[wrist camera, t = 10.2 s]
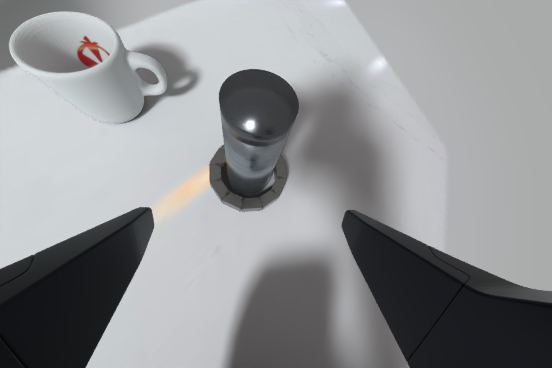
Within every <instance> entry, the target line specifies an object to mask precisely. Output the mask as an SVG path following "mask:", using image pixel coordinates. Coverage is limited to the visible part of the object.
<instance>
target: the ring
mask: <svg viewBox="0 0 552 368" xmlns="http://www.w3.org/2000/svg"><path fill="white" fill-rule="evenodd" d="M225 163H226V155H225V146H224V145H223V146H221V148H219V149H218V151H217V152H216V154H215V155H214V157H213V158H212V160H211V161H210V184H211V187H212V188H213V190H214V191H215V193H216V195H217V196H218V198H219V199H220V201H221V202H223V204H225V205H228V206H230V207H232V208H234V209H236V210H238V211H241V209H242V212H245V211H259V210H261V209H262V210H263V209H264V208H266V207H267V206H269V205H270V204H271V203H273V202H274V201H276V200H277V199H278V198H279V196H280V194H281V192H282V190H283V188H284V186H285V183H286V181H287V173H286V166H285V162H284V159H283V158H282V157H281V156H279V158H278V161H277V163H276V165H275V168H274V175H275V183H274V185H273V187H272V189H271V190H270V191H268V192H267V193H265V194H264V195H262V196H260V197H258V198H242V197H240V196H238V195H235V194H233V193H231V192H229V191H228V189H227V188H226V186H225V185H224V183H223V182H222V176H221V170H222V168H223V166H224V165H225Z"/></svg>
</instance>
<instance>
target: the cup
mask: <svg viewBox="0 0 552 368" xmlns="http://www.w3.org/2000/svg"><path fill="white" fill-rule="evenodd" d="M9 48H10V53H11V55H12V57H13V59H14V60H15V61H16V63H17V64H18V65H19V66H20V67H21V68H23V69H24V70H25V71H26V72H28V73H29V74H30V75H32V76H33V77H34V78H36V79H37V80H39V81H40V82H41V83H43V84H44V85H45V86H47V87H48V88H49V89H51V90H52V91H53V92H55V93H56V94H57V95H59V96H60V97H61V98H63V99H64V100H65V101H67V102H68V103H69V104H71V105H72V106H73V107H75V108H76V109H77V110H79V111H80V112H82V113H83V114H84V115H86V116H88V117H89V118H91V119H93V120H95V121H98V122H101V123H106V124H119V123H124V122H127V121H129V120H131V119H133V118H135V117H136V116H137V115H138V114H139V113H140V112H141V110H142V108H143V105H144V96H147V95H160V94H163V93H164V92H165V91H166V89H167V77H166V74H165V71H164V69H163V67H162V66H161V64H160V63H159V62H158V61H157V60H155V59H154V58H152V57H151V56H148V55H146V54H142V53H137V52H132V51H128V50H126V49H125V47H124V45H123V43H122V41H121V38H120V36H119V35H118V33H117V32H116V31H115V29H114V28H113V27H112V26H110V25H109V24H108V23H106V22H105V21H103V20H101V19H99V18H97V17H95V16H92V15H89V14H85V13H79V12H52V13H47V14H43V15H40V16H37V17H34V18H32V19H30V20H28V21H26V22H24V23H23V24H21V25H20V26H19V27H18V28H17V29H16V30H15V32H14V33H13V34H12V36H11V39H10V43H9ZM138 68H146V69H149V70H151V71H152V72H154V73H155V74H156V76H157V77H158V79H159V83H157V84H149V83H147V82H145V81H144V80H143V79H141V77H140V76H139V75H138V73H137V71H136V70H137V69H138Z"/></svg>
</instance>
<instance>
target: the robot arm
mask: <svg viewBox="0 0 552 368" xmlns="http://www.w3.org/2000/svg"><path fill="white" fill-rule="evenodd" d="M153 229H154V220H153V214H152V210H151V208H149V207H139V208H137V209H134V210H132V211H130V212H128V213H125V214H123V215H121V216H119V217H116V218H114V219H112V220H110V221H107V222H105V223H103V224H101V225H98V226H96V227H94V228H92V229H89V230H87V231H85V232H83V233H80V234H78V235H76V236H74V237H71V238H69V239H67V240H65V241H63V242H60V243H58V244H56V245H54V246H51V247H49V248H47V249H45V250H42V251H40V252H38V253H36V254H35V255H31V256H29V257H26V258H24V259H22V260H20V261H18V262H15V263H13V264H11V265H8V266H6V267H4V268H1V269H0V368H86V366H87V364H88V362H89V360H90V358H91V356H92V354H93V352H94V350H95V349H96V347H97V345H98V343H99V341H100V339H101V337H102V335H103V333H104V331H105V329H106V328H107V326H108V324H109V322H110V320H111V318H112V316H113V314H114V312H115V310H116V308H117V307H118V305H119V303H120V301H121V299H122V297H123V295H124V293H125V291H126V289H127V287H128V285H129V284H130V282H131V280H132V278H133V276H134V274H135V272H136V270H137V268H138V266H139V264H140V262H141V260H142V258H143V255H144V253H145V250H146V248H147V245H148V242H149V240H150V237H151V234H152V232H153ZM342 229H343V232H344V234H345V237H346V240H347V242H348V245H349V247H350V250H351V252H352V255H353V257H354V259H355V261H356V263H357V265H358V267H359V269H360V271H361V273H362V275H363V277H364V279H365V280H366V282H367V284H368V286H369V288H370V290H371V292H372V294H373V296H374V298H375V300H376V302H377V304H378V306H379V308H380V310H381V312H382V314H383V316H384V318H385V320H386V322H387V324H388V326H389V328H390V330H391V332H392V333H393V335H394V337H395V339H396V341H397V343H398V345H399V347H400V349H401V351H402V353H403V355H404V357H405V359H406V361H407V362H408V365H409V367H410V368H552V291H542V290H536V289H531V288H527V287H523V286H520V285H517V284H514V283H512V282H509V281H506V280H505V279H502V278H500V277H498V276H495V275H493V274H491V273H488V272H486V271H484V270H482V269H479V268H477V267H475V266H472V265H470V264H468V263H465V262H463V261H461V260H459V259H456V258H454V257H452V256H450V255H448V254H446V253H443V252H441V251H439V250H437V249H435V248H433V247H431V246H428V245H426V244H424V243H422V242H420V241H418V240H416V239H414V238H412V237H410V236H408V235H406V234H403V233H401V232H399V231H397V230H395V229H393V228H391V227H389V226H387V225H385V224H382V223H380V222H378V221H376V220H374V219H372V218H370V217H368V216H366V215H364V214H362V213H359V212H357V211H355V210H347V211H346V212H345V215H344V218H343V222H342Z"/></svg>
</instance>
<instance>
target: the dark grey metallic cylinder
mask: <svg viewBox="0 0 552 368" xmlns="http://www.w3.org/2000/svg"><path fill="white" fill-rule="evenodd" d="M219 103H220V111H221V120H222V129H223V137H224V146H225V155H226V164H227V172H228V180H229V183H230V185H231V187H232V188H233V189H234V190H235V191H236V192H238V193H239V194H242V195H247V196H252V195H256V194H258V193H260V192H262V191H263V190H264V189H265V188H266V186H267V184H268V182H269V179H270V177H271V175H272V172H273V170H274V168H275V165H276V163H277V161H278V158H279V156H280V154H281V151H282V149H283V147H284V144H285V142H286V140H287V137H288V135H289V132H290V130H291V128H292V125H293V123H294V121H295V118H296V116H297V113H298V109H299V103H298V98H297V95H296V93H295V91H294V90H293V88H292V87H291V86H290V85H289V84H288V82H286V81H285V80H284V79H283V78H281V77H280V76H278V75H276V74H274V73H271V72H268V71H265V70H259V69H248V70H242V71H239V72H237V73H234V74H233V75H231V76H230V77H228V78H227V79H226V80H225V81H224V83H223V84H222V86H221V89H220V92H219Z"/></svg>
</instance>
